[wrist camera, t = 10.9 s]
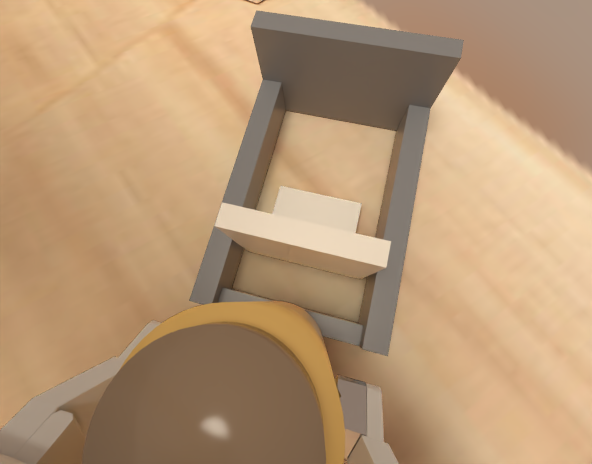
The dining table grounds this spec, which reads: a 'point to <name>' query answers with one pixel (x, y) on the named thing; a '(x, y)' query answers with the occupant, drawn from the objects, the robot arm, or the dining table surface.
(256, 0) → the jar
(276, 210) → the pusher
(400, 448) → the dining table surface
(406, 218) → the grey open box
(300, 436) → the honey jar
